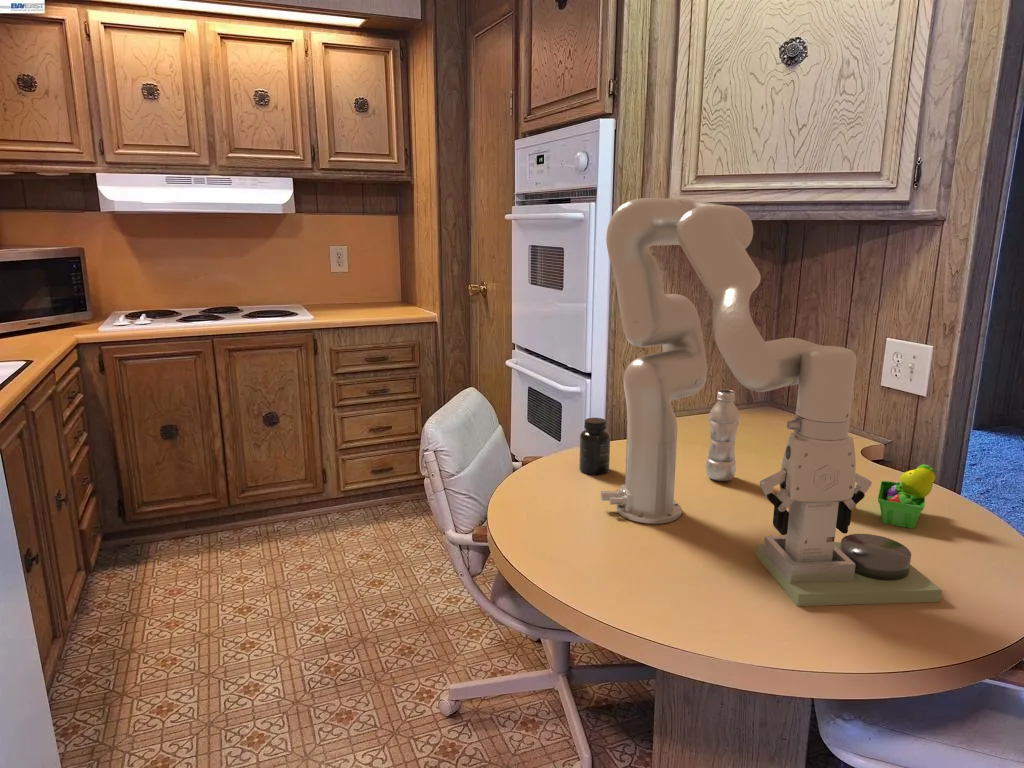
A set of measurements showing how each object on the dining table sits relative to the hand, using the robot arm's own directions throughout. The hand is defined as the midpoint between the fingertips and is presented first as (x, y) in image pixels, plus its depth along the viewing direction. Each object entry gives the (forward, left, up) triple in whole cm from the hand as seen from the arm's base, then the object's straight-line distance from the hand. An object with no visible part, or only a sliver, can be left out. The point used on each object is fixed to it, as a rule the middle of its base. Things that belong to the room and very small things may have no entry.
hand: (810, 530), depth 109 cm
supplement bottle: (-26, +50, -8) cm, 57 cm away
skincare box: (0, 0, -6) cm, 7 cm away
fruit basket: (+29, +21, -9) cm, 37 cm away
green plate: (+6, 0, -8) cm, 10 cm away
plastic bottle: (+1, +43, -8) cm, 44 cm away
